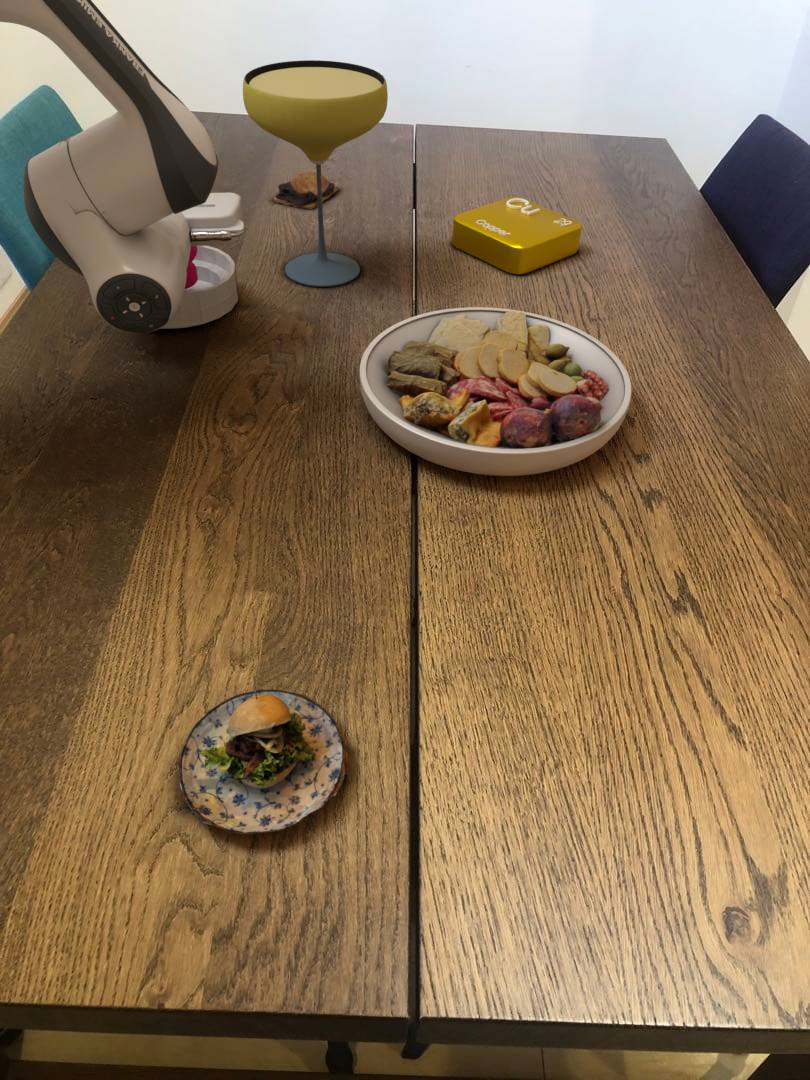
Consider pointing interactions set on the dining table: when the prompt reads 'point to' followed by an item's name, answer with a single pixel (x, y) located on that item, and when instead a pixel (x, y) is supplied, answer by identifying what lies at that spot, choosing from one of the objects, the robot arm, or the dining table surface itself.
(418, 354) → the bowl
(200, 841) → the dining table surface
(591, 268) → the dining table surface
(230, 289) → the white ledged dish
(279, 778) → the burger
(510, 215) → the element tile
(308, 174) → the topped cracker
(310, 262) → the cocktail glass
